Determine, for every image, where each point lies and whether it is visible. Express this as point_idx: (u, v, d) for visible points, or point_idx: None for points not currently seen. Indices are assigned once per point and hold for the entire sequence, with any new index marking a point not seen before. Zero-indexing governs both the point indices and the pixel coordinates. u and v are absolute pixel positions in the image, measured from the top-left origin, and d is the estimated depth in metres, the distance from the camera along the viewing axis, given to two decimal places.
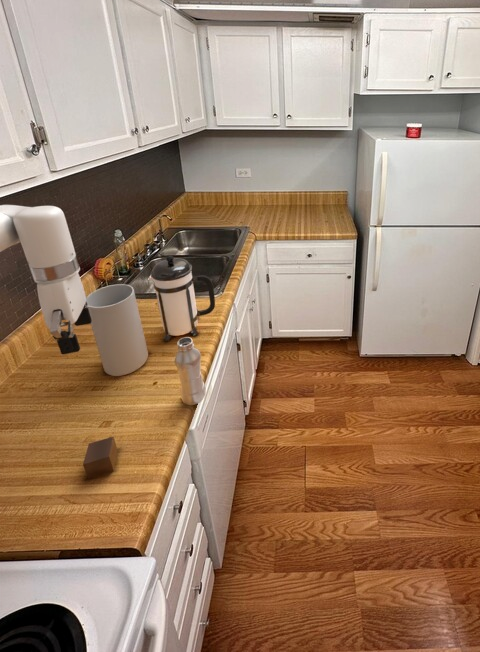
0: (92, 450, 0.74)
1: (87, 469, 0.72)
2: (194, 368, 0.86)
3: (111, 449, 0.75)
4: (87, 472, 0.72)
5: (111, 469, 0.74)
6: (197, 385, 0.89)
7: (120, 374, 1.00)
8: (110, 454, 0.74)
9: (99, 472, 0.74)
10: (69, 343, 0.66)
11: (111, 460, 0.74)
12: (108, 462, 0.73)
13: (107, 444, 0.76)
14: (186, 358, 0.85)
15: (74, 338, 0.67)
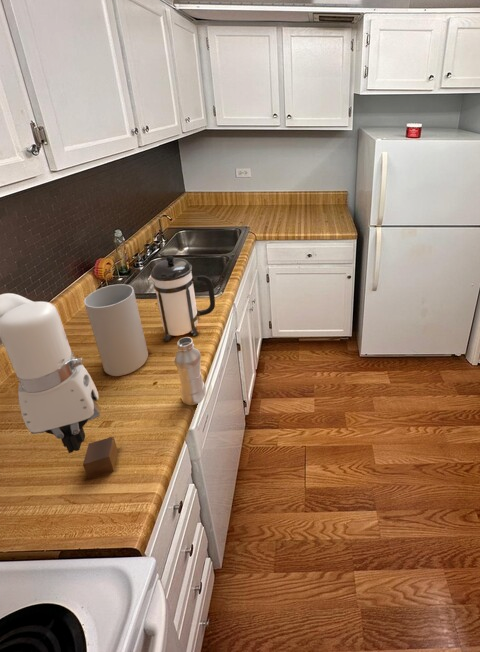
0: (92, 450, 0.74)
1: (87, 469, 0.72)
2: (194, 368, 0.86)
3: (111, 449, 0.75)
4: (87, 472, 0.72)
5: (111, 469, 0.74)
6: (197, 385, 0.89)
7: (120, 374, 1.00)
8: (110, 454, 0.74)
9: (99, 472, 0.74)
10: None
11: (111, 460, 0.74)
12: (108, 462, 0.73)
13: (107, 444, 0.76)
14: (186, 358, 0.85)
15: None
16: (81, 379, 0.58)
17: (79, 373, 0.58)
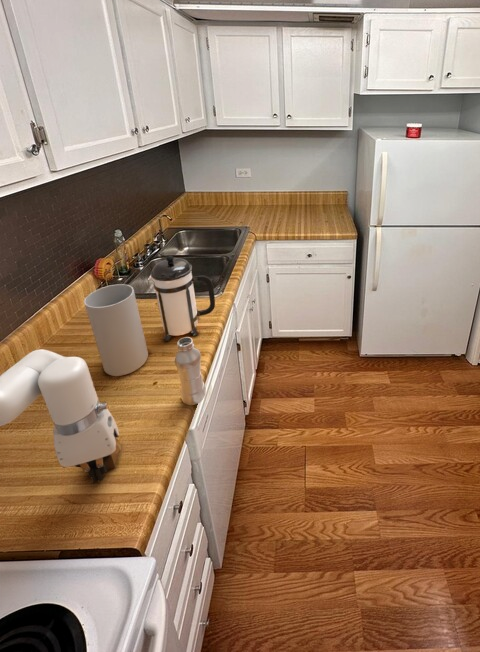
0: None
1: None
2: (194, 368, 0.86)
3: None
4: None
5: (112, 465, 0.75)
6: (197, 385, 0.89)
7: (120, 374, 1.00)
8: None
9: None
10: None
11: (112, 457, 0.75)
12: (110, 459, 0.74)
13: None
14: (186, 358, 0.85)
15: None
16: (106, 421, 0.68)
17: (104, 416, 0.68)
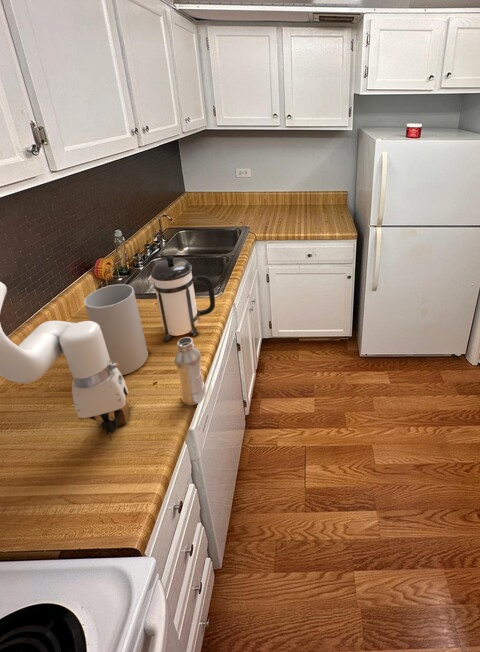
0: None
1: None
2: (194, 368, 0.86)
3: None
4: None
5: (124, 421, 0.85)
6: (197, 385, 0.89)
7: None
8: None
9: None
10: None
11: (124, 414, 0.85)
12: (122, 415, 0.84)
13: None
14: (186, 358, 0.85)
15: None
16: (117, 378, 0.78)
17: (115, 374, 0.78)
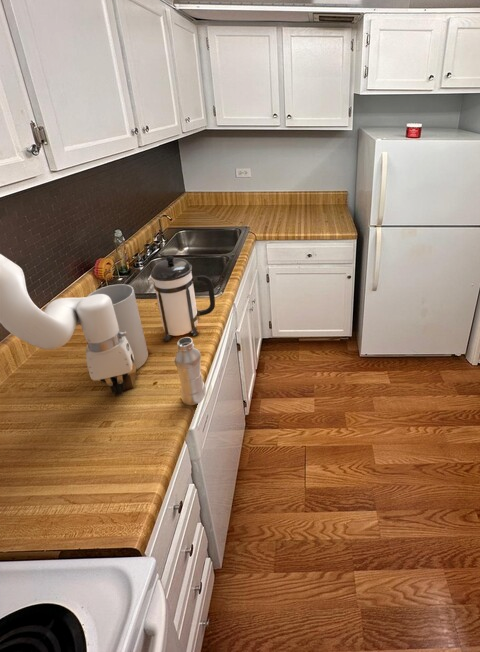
0: None
1: None
2: (194, 368, 0.86)
3: None
4: None
5: (131, 385, 0.96)
6: (197, 385, 0.89)
7: None
8: (130, 374, 0.95)
9: None
10: None
11: (131, 379, 0.96)
12: (129, 380, 0.95)
13: None
14: (186, 358, 0.85)
15: None
16: (125, 345, 0.88)
17: (124, 341, 0.88)
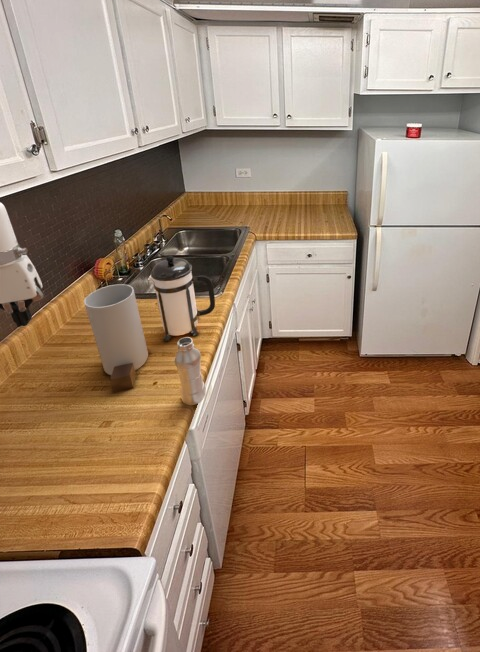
0: (117, 371, 0.96)
1: (113, 383, 0.94)
2: (194, 368, 0.86)
3: (131, 371, 0.97)
4: (113, 386, 0.94)
5: (131, 385, 0.96)
6: (197, 385, 0.89)
7: None
8: (130, 374, 0.95)
9: (122, 387, 0.95)
10: None
11: (131, 378, 0.96)
12: (129, 380, 0.95)
13: (128, 367, 0.97)
14: (186, 358, 0.85)
15: None
16: (25, 265, 0.76)
17: (23, 260, 0.76)
